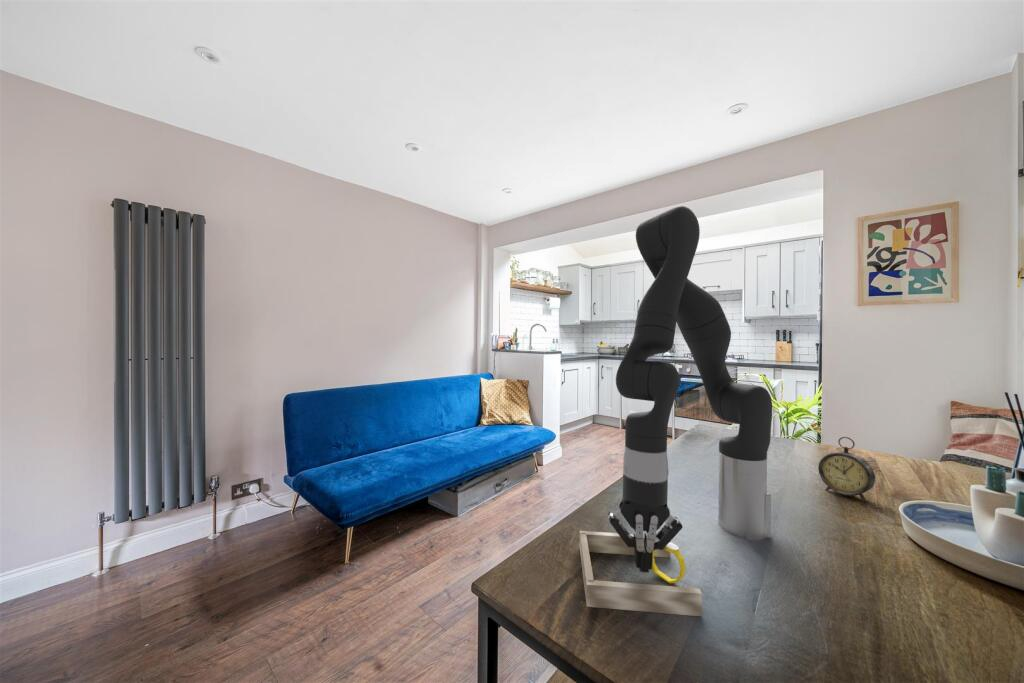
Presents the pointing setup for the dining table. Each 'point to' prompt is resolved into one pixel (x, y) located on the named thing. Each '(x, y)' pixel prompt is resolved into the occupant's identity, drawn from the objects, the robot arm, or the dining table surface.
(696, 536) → the dining table surface
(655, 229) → the robot arm
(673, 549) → the watch
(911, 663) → the dining table surface
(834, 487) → the alarm clock
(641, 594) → the open wooden frame
